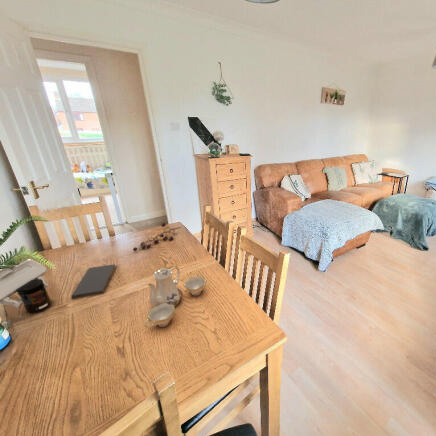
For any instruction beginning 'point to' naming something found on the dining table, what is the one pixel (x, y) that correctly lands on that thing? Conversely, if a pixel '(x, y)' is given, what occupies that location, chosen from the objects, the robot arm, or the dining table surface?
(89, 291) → the slate plate
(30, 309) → the supplement container
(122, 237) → the dining table surface
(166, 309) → the chinaware
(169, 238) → the decorative branch
